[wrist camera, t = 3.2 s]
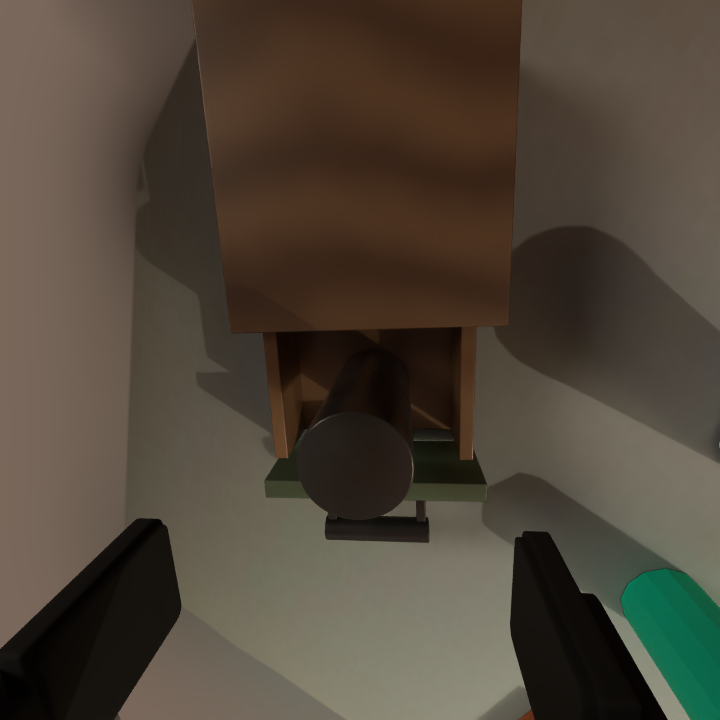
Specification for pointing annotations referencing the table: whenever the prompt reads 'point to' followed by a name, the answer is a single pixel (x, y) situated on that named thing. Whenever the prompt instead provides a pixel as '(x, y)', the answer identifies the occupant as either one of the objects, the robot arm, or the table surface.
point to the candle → (679, 636)
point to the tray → (528, 716)
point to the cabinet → (362, 159)
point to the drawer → (428, 411)
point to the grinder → (361, 440)
